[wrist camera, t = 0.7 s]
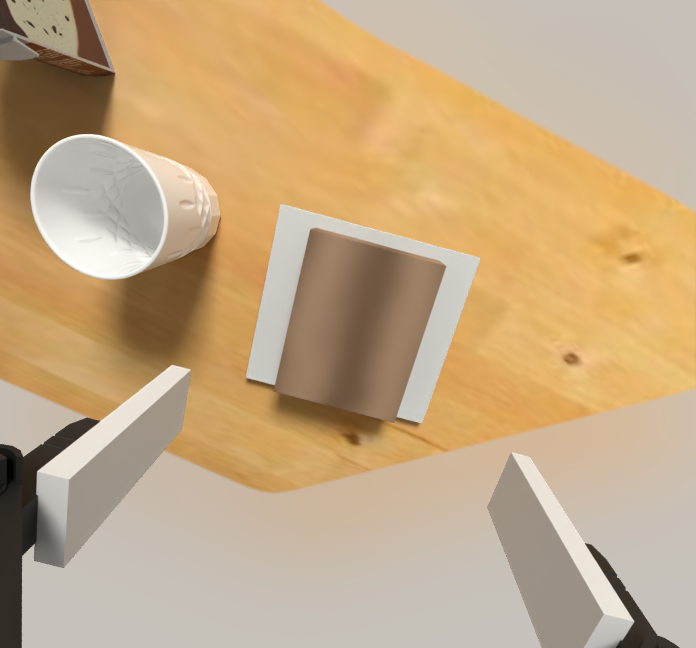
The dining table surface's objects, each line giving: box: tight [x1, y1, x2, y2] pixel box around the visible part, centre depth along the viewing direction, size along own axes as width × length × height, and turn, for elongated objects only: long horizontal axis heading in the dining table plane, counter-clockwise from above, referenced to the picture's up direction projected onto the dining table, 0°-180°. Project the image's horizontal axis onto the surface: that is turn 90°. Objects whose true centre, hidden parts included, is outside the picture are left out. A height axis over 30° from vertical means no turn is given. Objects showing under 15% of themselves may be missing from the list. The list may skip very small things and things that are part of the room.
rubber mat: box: [246, 204, 481, 423], centre depth 33 cm, size 16×15×1 cm
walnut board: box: [274, 227, 446, 423], centre depth 32 cm, size 10×13×3 cm
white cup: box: [30, 134, 221, 280], centre depth 27 cm, size 8×8×10 cm
